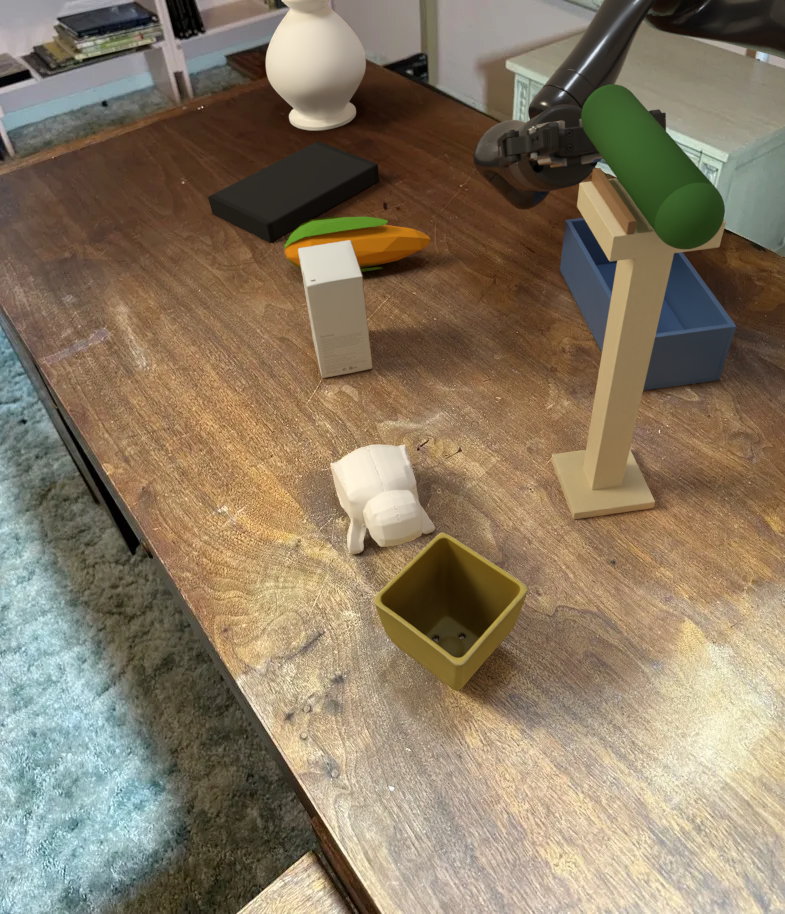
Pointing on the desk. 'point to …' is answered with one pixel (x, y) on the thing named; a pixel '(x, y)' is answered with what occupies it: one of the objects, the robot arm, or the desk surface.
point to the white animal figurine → (380, 496)
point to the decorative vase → (315, 65)
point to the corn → (358, 239)
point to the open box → (681, 319)
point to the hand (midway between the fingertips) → (605, 129)
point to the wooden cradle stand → (619, 353)
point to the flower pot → (450, 609)
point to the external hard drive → (293, 190)
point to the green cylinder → (653, 168)
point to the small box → (336, 307)
